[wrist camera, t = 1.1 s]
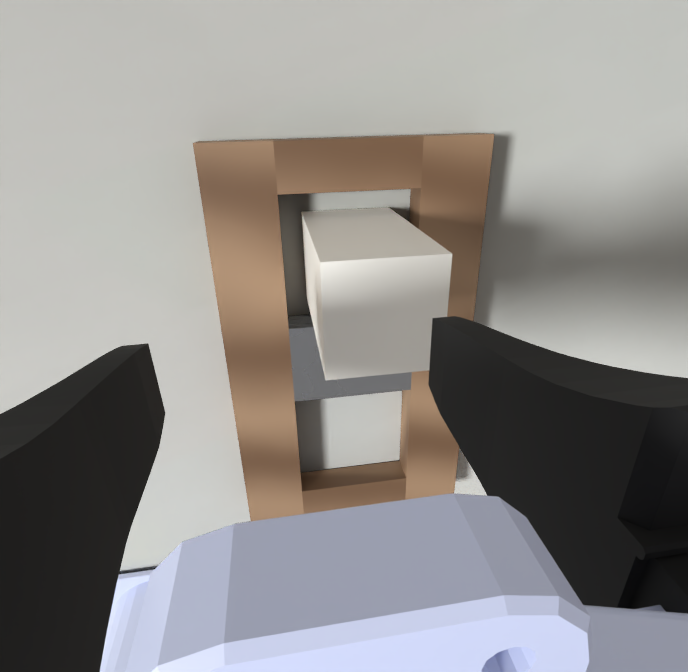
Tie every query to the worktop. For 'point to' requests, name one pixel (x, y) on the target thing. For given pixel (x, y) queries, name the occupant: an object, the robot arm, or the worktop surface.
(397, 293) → the plug
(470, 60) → the worktop surface
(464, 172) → the socket panel
